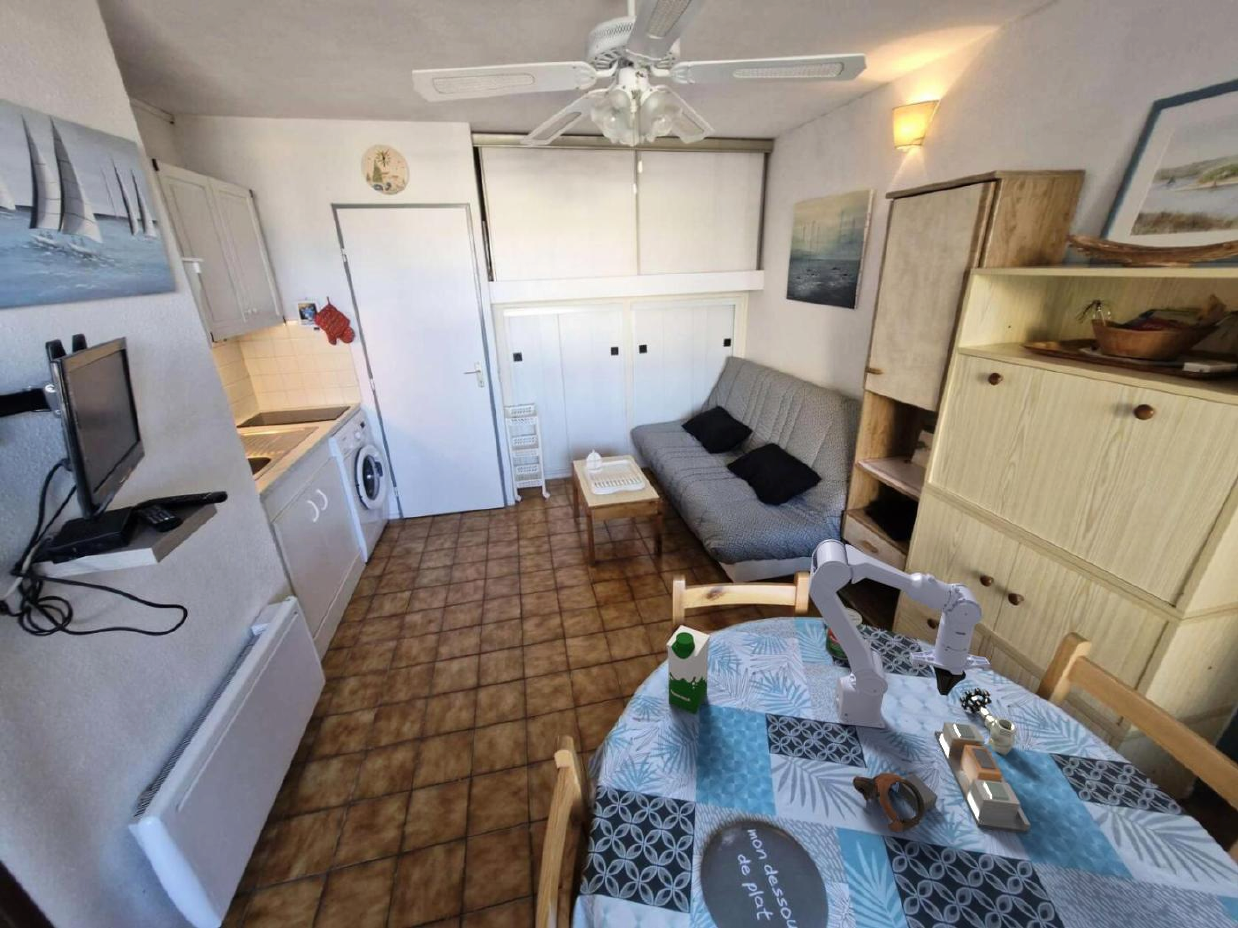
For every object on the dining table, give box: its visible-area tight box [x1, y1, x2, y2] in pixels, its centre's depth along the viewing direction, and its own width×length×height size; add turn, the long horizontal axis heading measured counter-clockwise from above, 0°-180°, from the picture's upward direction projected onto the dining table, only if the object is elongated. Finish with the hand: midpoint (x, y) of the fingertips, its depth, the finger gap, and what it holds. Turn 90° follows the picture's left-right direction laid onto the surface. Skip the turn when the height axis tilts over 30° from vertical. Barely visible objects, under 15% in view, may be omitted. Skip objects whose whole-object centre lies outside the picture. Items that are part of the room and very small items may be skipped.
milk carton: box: [666, 624, 711, 715], centre depth 120 cm, size 9×9×20 cm
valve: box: [958, 687, 1018, 756], centre depth 110 cm, size 7×7×12 cm
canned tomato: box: [824, 606, 863, 661], centre depth 134 cm, size 8×8×11 cm
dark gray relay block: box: [896, 773, 939, 813], centre depth 98 cm, size 4×5×3 cm
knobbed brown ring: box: [852, 772, 925, 833], centre depth 96 cm, size 12×10×8 cm
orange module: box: [960, 745, 1004, 785], centre depth 100 cm, size 4×6×5 cm, turn 170°
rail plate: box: [934, 721, 1031, 835], centre depth 100 cm, size 8×20×6 cm, turn 170°
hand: (942, 691), depth 109 cm, fingers closed
